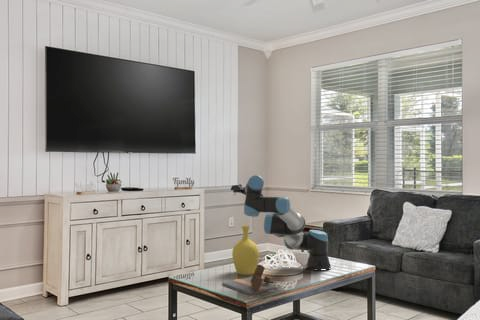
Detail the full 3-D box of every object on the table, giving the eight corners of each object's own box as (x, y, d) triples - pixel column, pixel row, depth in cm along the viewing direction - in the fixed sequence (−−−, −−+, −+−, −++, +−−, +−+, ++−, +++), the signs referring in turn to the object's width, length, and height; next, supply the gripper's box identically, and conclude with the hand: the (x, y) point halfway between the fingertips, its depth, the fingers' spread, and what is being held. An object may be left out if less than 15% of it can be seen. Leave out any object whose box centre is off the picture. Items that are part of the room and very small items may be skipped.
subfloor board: (248, 279, 256) (248, 277, 256) (276, 288, 237) (276, 286, 237) (222, 284, 246) (222, 282, 246) (249, 294, 226) (249, 291, 226)
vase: (227, 274, 270) (227, 227, 270) (240, 268, 284) (240, 223, 284) (251, 277, 262) (251, 228, 263) (263, 271, 276) (263, 225, 277)
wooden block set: (259, 296, 227) (266, 278, 225) (243, 287, 229) (251, 269, 228) (268, 285, 244) (275, 268, 242) (254, 278, 246) (261, 261, 245)
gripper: (227, 185, 233) (223, 194, 253) (271, 206, 233) (263, 214, 253) (233, 172, 236) (229, 183, 256) (276, 193, 235) (269, 202, 255)
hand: (246, 198), depth 254 cm, fingers open, 13 cm apart
